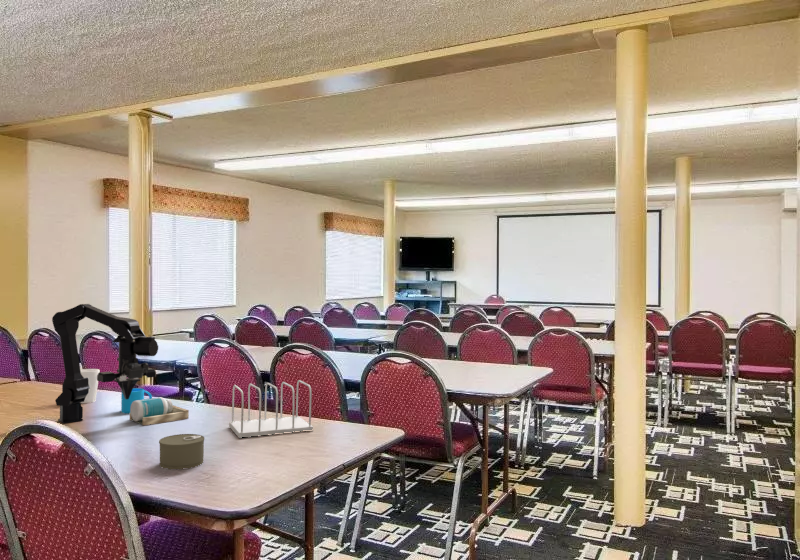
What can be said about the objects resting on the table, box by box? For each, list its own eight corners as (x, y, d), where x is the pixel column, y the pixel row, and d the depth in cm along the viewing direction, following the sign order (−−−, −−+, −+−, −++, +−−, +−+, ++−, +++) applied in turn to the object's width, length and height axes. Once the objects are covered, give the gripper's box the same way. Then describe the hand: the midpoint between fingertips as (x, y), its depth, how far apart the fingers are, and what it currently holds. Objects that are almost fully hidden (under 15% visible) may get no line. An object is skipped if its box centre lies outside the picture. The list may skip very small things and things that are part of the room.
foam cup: (69, 402, 259) (69, 371, 259) (86, 398, 268) (86, 368, 268) (87, 404, 256) (88, 372, 256) (104, 400, 265) (104, 369, 265)
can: (151, 463, 176) (151, 438, 176) (192, 455, 184) (192, 431, 184) (170, 472, 167) (170, 447, 167) (212, 463, 176) (212, 439, 176)
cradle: (144, 425, 220) (144, 416, 220) (129, 419, 229) (129, 411, 229) (188, 418, 232) (188, 410, 232) (173, 413, 241) (173, 405, 241)
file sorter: (239, 439, 203) (239, 391, 203) (228, 427, 219) (229, 383, 219) (313, 431, 214) (313, 385, 214) (298, 421, 230) (299, 378, 230)
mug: (127, 414, 239) (127, 392, 239) (117, 411, 244) (117, 390, 244) (157, 409, 248) (157, 388, 248) (146, 406, 253) (146, 386, 253)
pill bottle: (137, 425, 223) (173, 419, 233) (139, 405, 222) (175, 400, 232) (128, 416, 228) (164, 411, 238) (130, 397, 227) (166, 392, 237)
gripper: (109, 359, 210) (109, 406, 210) (163, 355, 224) (162, 399, 224) (96, 356, 218) (96, 401, 218) (149, 352, 231) (148, 394, 231)
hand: (126, 399), depth 222 cm, fingers closed
